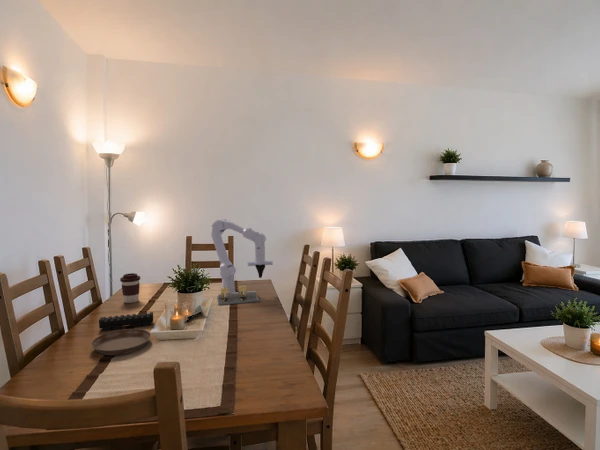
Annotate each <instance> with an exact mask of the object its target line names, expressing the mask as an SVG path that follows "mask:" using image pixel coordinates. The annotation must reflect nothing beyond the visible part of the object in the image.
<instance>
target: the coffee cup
mask: <svg viewBox="0 0 600 450" xmlns="http://www.w3.org/2000/svg"><path fill="white" fill-rule="evenodd" d="M119 280H120V282H121V291H122V296H123V302H124V303H126V304H131V303H136V302H139V296H140V285H141V284H140V280H141V276H140V275H138V273H134V272H133V273H131V272H130V273H125V274H123V275H122V277H120V279H119Z"/></svg>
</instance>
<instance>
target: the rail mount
mask: <svg viewBox="0 0 600 450" xmlns="http://www.w3.org/2000/svg"><path fill="white" fill-rule="evenodd" d="M153 322H154V311H150V312H149V313H148V312H144V313H139V312H138V314H136V313H132V314H131V315H130V314H126V315H124V314H121V315H120V316H118V315H114V316H111V315H110V316H108V317H106V316H102V317H100V318H99V319H98V328H99V329H101V330H102V331H101V332H108V331H118V330H123V328H122V327H125V326H132V329H136V328H142V327H150V326H152V323H153Z"/></svg>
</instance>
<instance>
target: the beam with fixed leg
mask: <svg viewBox="0 0 600 450" xmlns="http://www.w3.org/2000/svg"><path fill="white" fill-rule="evenodd" d="M256 295H257V291H256V290H247V296H245V297H249V296H256ZM217 296H218V299H224V300H225V301H226V298H236V297H239V291H235V292H232V293H229V289H228V287H224V288H222V287H220V293H219V292H218V294H217Z"/></svg>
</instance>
